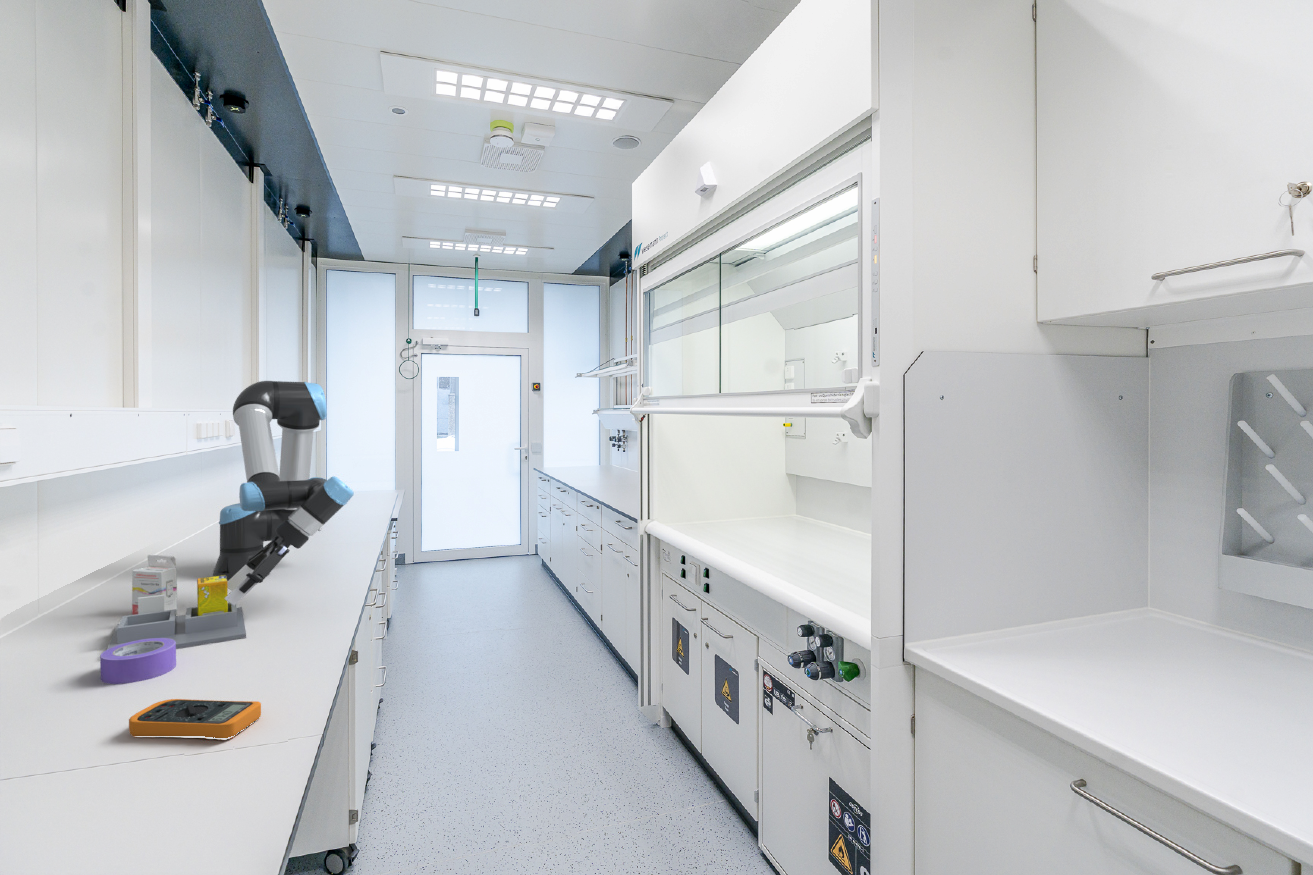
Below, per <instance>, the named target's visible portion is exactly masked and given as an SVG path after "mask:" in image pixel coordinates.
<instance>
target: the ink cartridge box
mask: <svg viewBox="0 0 1313 875" xmlns="http://www.w3.org/2000/svg"><path fill="white" fill-rule="evenodd" d="M160 560H163V561H161V562H160ZM176 560H177V558H176V557H175V556H173V555H172V556H171V555H156V554H155V555H152V554H148V555H147V563H148V564H147V565H148V566H144V567H141V568H136V569H131V576H132V577H131V578H132V581H131V588H132V589H131V591H132V592H131V597H132V598H131V599H132V602H131V603H132V604H131V606H132V607H131V610H132V612H131V615H136V614H138V598H139V597H148V596H156V595H165V611H167V610H174V609H176V612H178V583H177V582H178V580H177V578H178V577H177V576H178V573H177V571H178V568H177V563H176V562H177V561H176Z"/></svg>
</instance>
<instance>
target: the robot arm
mask: <svg viewBox="0 0 1313 875" xmlns="http://www.w3.org/2000/svg"><path fill="white" fill-rule="evenodd" d="M327 415H328V413H327V400H326V396H325V391H324V390H323V387H322V386H321V385H320V384H319V383H314V382H307V381H281V380H277V381H275V380H260V381H258V382H255V383H252V384H250V385H248V386H246V388H244V389H243V390H242V391H241V392H240V393H239V394H238V396H237V397H236V399H235V401H234V403H233V407H232V417H233V421H234V423H235V424H236V425H237V426H238V429H239V436H240V442H241V449H242V458H243V463H244V470H245V477H246V482H242V483H241V484H240V486H239V502H238V503H234V504H230V505H227V506H225V507H223V508H222V509H221V510H220V512H219V521H218V524H219V556H218V558H217V561H216V563H215V566H214V568H213V571H212V572H213V573H212V577H215V576H223V575H226V578H227V581H228V590H230V592H228V595H227V596H226V597H225V600H227V601H228V602H230V603H231V604H233V605H234V606H235V605H236V606H237V603H239V602H240V601H241V600H242V599H243V598H244V597H245V596H246V595H247V594H248V593H249V592H250V591H251V590H252V589H254V587H256V585H258V584H261V583H263V581H264V580H265V579H266V578H267V577H268V576H269V575H270V573H271V572H272V571H273V570H274V569H275V567H276V566H277V565H278V564H279V563H280V562H281V560H283V558H284V557H285V556H286V555H287V554H289V553H290V549H289V547H290V546H293V548H296V549H301V548H302V547H303V546H304V545H305V544H306V543H307V542H308V541H309V539H310V537H313V536H314V535H315V534H316V533H317V531H318V532H321V531H323V530H322V529H323V528H322V527H323V526H324V525H325V524H326V523H328V521H329V520H330V519H331V518H332V517H334V516H335V514H336V513H338V512H339V511H340V510H341V509H342V508H343V507H344V506H346V505H347V504H348V502H349V501H351V499H352V498H353V496H354V490H353V489H352V488H350V487H349V486H348V485H347V484H346V483H345V482H344V481H342V480H341V479H340V478H338V477H337V476H334V475H333V476H330V477H329V478H328V479H326V478H323V477H318V476H315V477H311V478H310V476H311V475H310V474H311V465H312V464H311V463H312V451H313V440H314V431H315V430H317V429H318V428H319V427H320V423H321V422H320V421H324V420H326V419H327ZM272 420H276V424H277V426H279V427H280V428H281V429H282V430H281V443H280V445H281V446H280V459H279V460H280V461H279V466H278V462H277V456H276V450H275V444H274V439H273V433H272V427H271V422H272ZM264 542H269V543H267V544H265V546H264Z"/></svg>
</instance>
